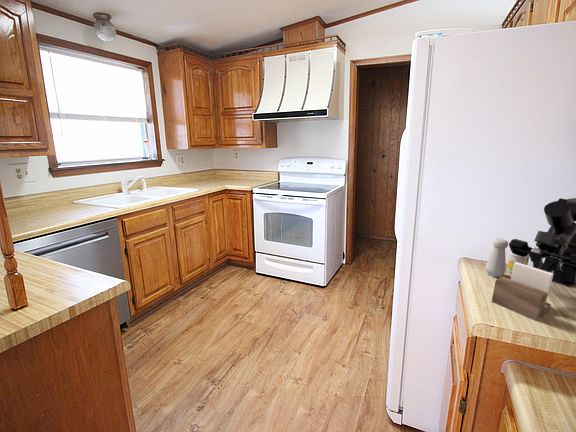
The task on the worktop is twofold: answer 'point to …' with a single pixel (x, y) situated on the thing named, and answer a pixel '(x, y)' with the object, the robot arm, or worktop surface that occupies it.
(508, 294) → the brown wooden stand
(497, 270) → the salt shaker
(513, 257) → the supplement bottle
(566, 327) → the worktop surface
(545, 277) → the button plate
